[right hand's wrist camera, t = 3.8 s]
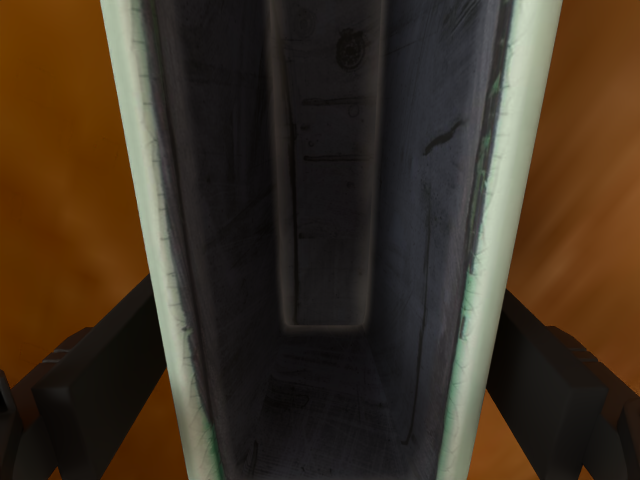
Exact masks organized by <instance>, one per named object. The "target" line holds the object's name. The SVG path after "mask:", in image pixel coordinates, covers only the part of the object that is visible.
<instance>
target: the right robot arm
mask: <svg viewBox="0 0 640 480" xmlns="http://www.w3.org/2000/svg"><path fill="white" fill-rule="evenodd" d="M166 367H167V362H166V357H165V351H164V346H163V341H162V335H161V330H160V324H159V319H158V313H157V308H156V303H155V297H154V292H153V286H152V281H151V275H150V273H149V274H148V275H147V276H146V277H145V278H144V279H143V280H142V281H141V282H140V283H139V284H138V285H137V286H136V287H135V288H134V289H133V290H132V291H131V292H130V293H129V294H128V295H127V296H125V297H124V298H123V299H122V300H121V301H120V302H119V303H118V304H117V305H116V306H115V307H114V308H113V309H112V310H111V311H110V312H109V313H108V314H107V315H106V316H105V317H104V318H103V319H102V320H101V321H100V322H99V323H98V324H97V325H96V326H95V327H86V328H84V329H82V330H81V331H79V332H77V333H75V334H73V335H72V336H70V337H68V338H67V339H66V340H65V341H63V342H62V343H61V344H60V345H59V346H58V347H57V348H56V349H55V350H54V352H53V353H50V354H49V355H48V356H47V357H46V358H45V359H44V360H43V362H42V363H39V364H38V365H37V366H36V367H35V368H34V369H33V370H32V371H31V372H29V373H28V374H27V375H26V376H25V377H24V378H23V379H22V380H21V381H20V382H19V383H17V384H16V385H15V386H14V387H13V388H12V389H11V390H10V387H9V384H8V381H7V379H6V376H5V373H4V371H3V370H1V369H0V480H47V479H48V478H49V477H50V475H51V474H52V472H53V471H54V470H55V468H56V467H57V466H58V469H59V472H60V475H61V477H62V480H100V479H101V477H102V475H103V474H104V472H105V470H106V468H107V467H108V465H109V463H110V462H111V460H112V458H113V457H114V455H115V453H116V452H117V450H118V448H119V447H120V445H121V443H122V441H123V440H124V438H125V436H126V435H127V433H128V431H129V430H130V428H131V426H132V425H133V423H134V421H135V419H136V418H137V416H138V414H139V413H140V411H141V409H142V408H143V406H144V404H145V403H146V401H147V399H148V398H149V396H150V394H151V392H152V391H153V389H154V387H155V386H156V384H157V382H158V381H159V379H160V377H161V376H162V374H163V372H164V370H165V369H166ZM486 389H487V391H488V392H489V394H490V396H491V398H492V399H493V401H494V403H495V404H496V406H497V408H498V409H499V411H500V413H501V414H502V416H503V418H504V419H505V421H506V423H507V425H508V426H509V428H510V430H511V431H512V433H513V435H514V436H515V438H516V440H517V441H518V443H519V445H520V447H521V448H522V450H523V452H524V453H525V455H526V457H527V458H528V460H529V462H530V463H531V465H532V467H533V469H534V470H535V472H536V474H537V475H538V477H539V479H540V480H578V477H579V475H580V472H581V469H582V466H583V465H584V466H585V468H586V469H587V470H588V472H589V473H590V475H591V476H592V477H593V479H594V480H640V397H639V396H638V395H637V394H636V393H635V392H633V391H632V390H631V389H630V388H629V387H628V386H627V385H626V384H625V383H624V382H622V381H621V380H620V379H619V378H618V377H617V376H616V375H615V374H614V373H612V372H611V371H610V370H609V369H608V368H607V367H606V366H605V365H604V364H603V363H601V362H598V359H597V358H596V357H595V356H594V355H593V354H591V353H590V352H589V351H587V350H586V348H585V347H584V346H583V345H582V344H580V343H579V342H578V341H577V340H576V339H575V338H574V337H573V336H571V335H569V334H567V333H566V332H564V331H562V330H560V329H558V328H557V327H555V326H544V325H543V324H542V323H541V322H540V321H539V320H538V319H537V318H536V317H535V316H534V315H533V314H532V313H531V312H530V311H529V310H528V309H527V308H526V307H525V306H524V305H523V304H522V303H521V302H520V301H519V300H518V299H517V298H516V297H515V296H513V295H512V294H511V293H510V292H509V291H508V290H507V289H505V294H504V299H503V304H502V309H501V314H500V319H499V324H498V329H497V334H496V339H495V344H494V349H493V354H492V359H491V364H490V369H489V374H488V379H487V384H486Z"/></svg>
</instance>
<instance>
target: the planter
mask: <svg viewBox="0 0 640 480" xmlns="http://www.w3.org/2000/svg"><path fill="white" fill-rule="evenodd" d="M100 2H101V7H102V12H103V18H104V23H105V29H106V34H107V40H108V45H109V51H110V56H111V62H112V67H113V73H114V78H115V84H116V89H117V95H118V100H119V106H120V111H121V117H122V122H123V128H124V133H125V139H126V144H127V150H128V155H129V161H130V166H131V172H132V177H133V183H134V188H135V194H136V199H137V205H138V210H139V216H140V221H141V227H142V232H143V237H144V243H145V248H146V254H147V259H148V265H149V270H150V275H151V281H152V286H153V292H154V297H155V303H156V308H157V313H158V319H159V324H160V330H161V335H162V341H163V346H164V351H165V357H166V362H167V368H168V373H169V379H170V384H171V389H172V395H173V400H174V405H175V411H176V416H177V421H178V426H179V432H180V437H181V442H182V447H183V453H184V458H185V463H186V468H187V474H188V478H189V480H466V479H467V475H468V471H469V466H470V461H471V457H472V452H473V447H474V442H475V437H476V432H477V428H478V423H479V418H480V413H481V408H482V403H483V399H484V394H485V389H486V384H487V379H488V374H489V369H490V364H491V359H492V354H493V349H494V344H495V339H496V334H497V329H498V324H499V319H500V314H501V309H502V304H503V299H504V294H505V289H506V284H507V279H508V274H509V269H510V264H511V259H512V254H513V249H514V244H515V239H516V234H517V229H518V224H519V219H520V214H521V209H522V204H523V199H524V194H525V189H526V184H527V179H528V174H529V169H530V163H531V158H532V153H533V148H534V143H535V138H536V133H537V128H538V123H539V118H540V113H541V108H542V103H543V98H544V93H545V88H546V83H547V78H548V73H549V68H550V63H551V58H552V53H553V48H554V42H555V37H556V32H557V27H558V22H559V17H560V12H561V7H562V2H563V0H100Z"/></svg>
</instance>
